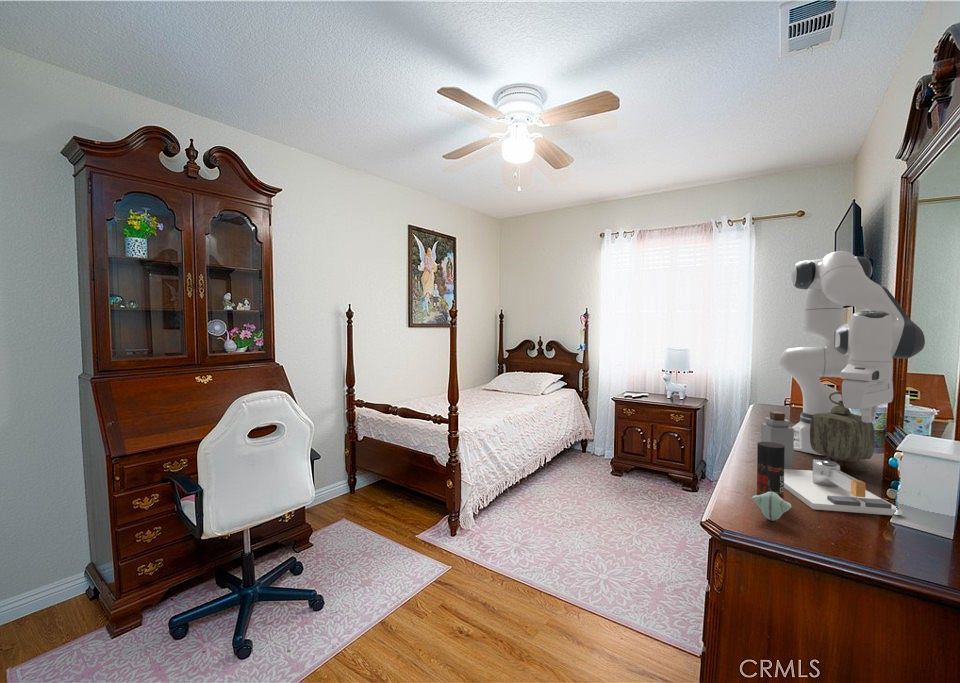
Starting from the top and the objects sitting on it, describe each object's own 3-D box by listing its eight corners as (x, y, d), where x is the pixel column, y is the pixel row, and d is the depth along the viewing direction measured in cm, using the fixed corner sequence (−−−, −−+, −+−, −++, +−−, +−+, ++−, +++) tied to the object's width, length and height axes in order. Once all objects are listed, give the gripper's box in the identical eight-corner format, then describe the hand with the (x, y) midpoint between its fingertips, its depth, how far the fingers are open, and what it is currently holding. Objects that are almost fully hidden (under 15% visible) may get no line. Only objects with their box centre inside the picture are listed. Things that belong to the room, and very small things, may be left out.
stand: (763, 472, 133) (763, 464, 133) (832, 476, 129) (832, 468, 129) (812, 509, 106) (812, 499, 106) (902, 516, 102) (902, 505, 102)
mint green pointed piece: (750, 517, 101) (750, 490, 101) (753, 512, 104) (753, 485, 104) (790, 528, 96) (791, 499, 96) (793, 522, 99) (793, 494, 99)
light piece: (804, 476, 125) (804, 454, 125) (827, 477, 123) (827, 456, 123) (846, 502, 106) (847, 477, 105) (874, 504, 104) (875, 479, 104)
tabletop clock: (874, 473, 132) (876, 394, 131) (854, 476, 129) (855, 396, 129) (825, 460, 146) (826, 388, 145) (806, 462, 143) (807, 389, 142)
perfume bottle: (793, 469, 136) (794, 414, 135) (770, 468, 137) (770, 414, 136) (782, 463, 142) (783, 410, 142) (760, 462, 144) (761, 410, 143)
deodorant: (759, 494, 116) (760, 440, 115) (785, 500, 112) (786, 444, 111) (754, 500, 112) (755, 444, 111) (781, 506, 107) (782, 449, 107)
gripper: (872, 367, 120) (870, 415, 121) (836, 372, 111) (835, 424, 111) (901, 369, 114) (900, 419, 115) (867, 375, 105) (866, 429, 106)
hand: (868, 421), depth 113 cm, fingers closed
